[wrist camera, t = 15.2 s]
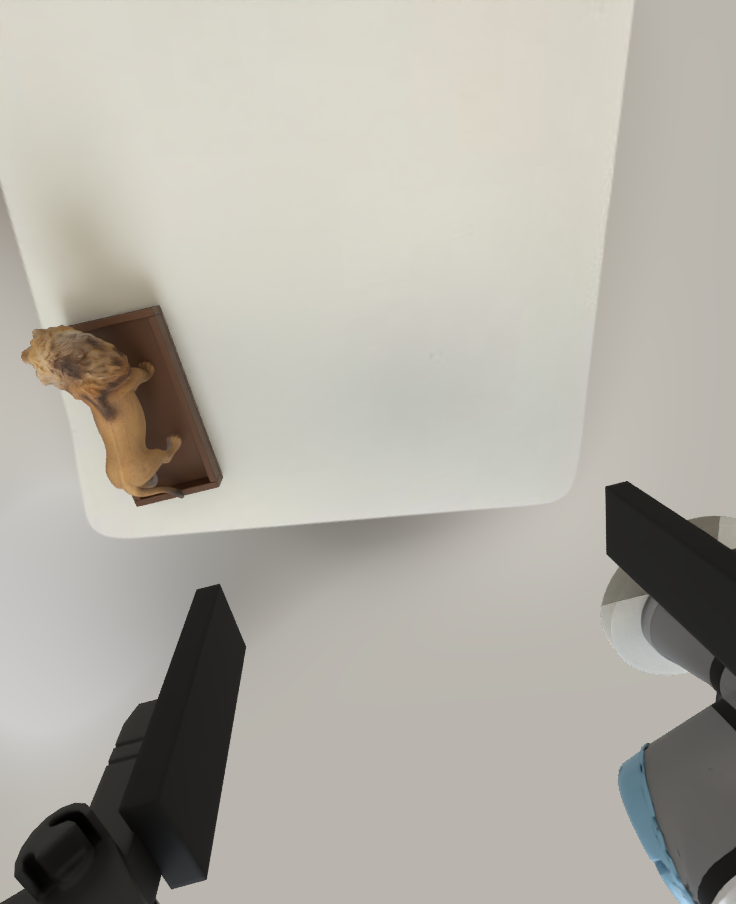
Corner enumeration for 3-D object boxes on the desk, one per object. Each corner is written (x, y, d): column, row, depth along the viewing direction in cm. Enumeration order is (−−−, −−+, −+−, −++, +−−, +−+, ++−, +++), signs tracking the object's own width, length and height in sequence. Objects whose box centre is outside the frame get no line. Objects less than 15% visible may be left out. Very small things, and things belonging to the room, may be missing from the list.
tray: (223, 477, 42) (219, 487, 40) (144, 496, 41) (136, 507, 39) (159, 305, 36) (151, 307, 34) (67, 326, 35) (54, 329, 34)
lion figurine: (70, 341, 36) (-17, 342, 27) (132, 316, 36) (65, 309, 27) (158, 505, 40) (106, 553, 31) (215, 483, 39) (179, 525, 31)
